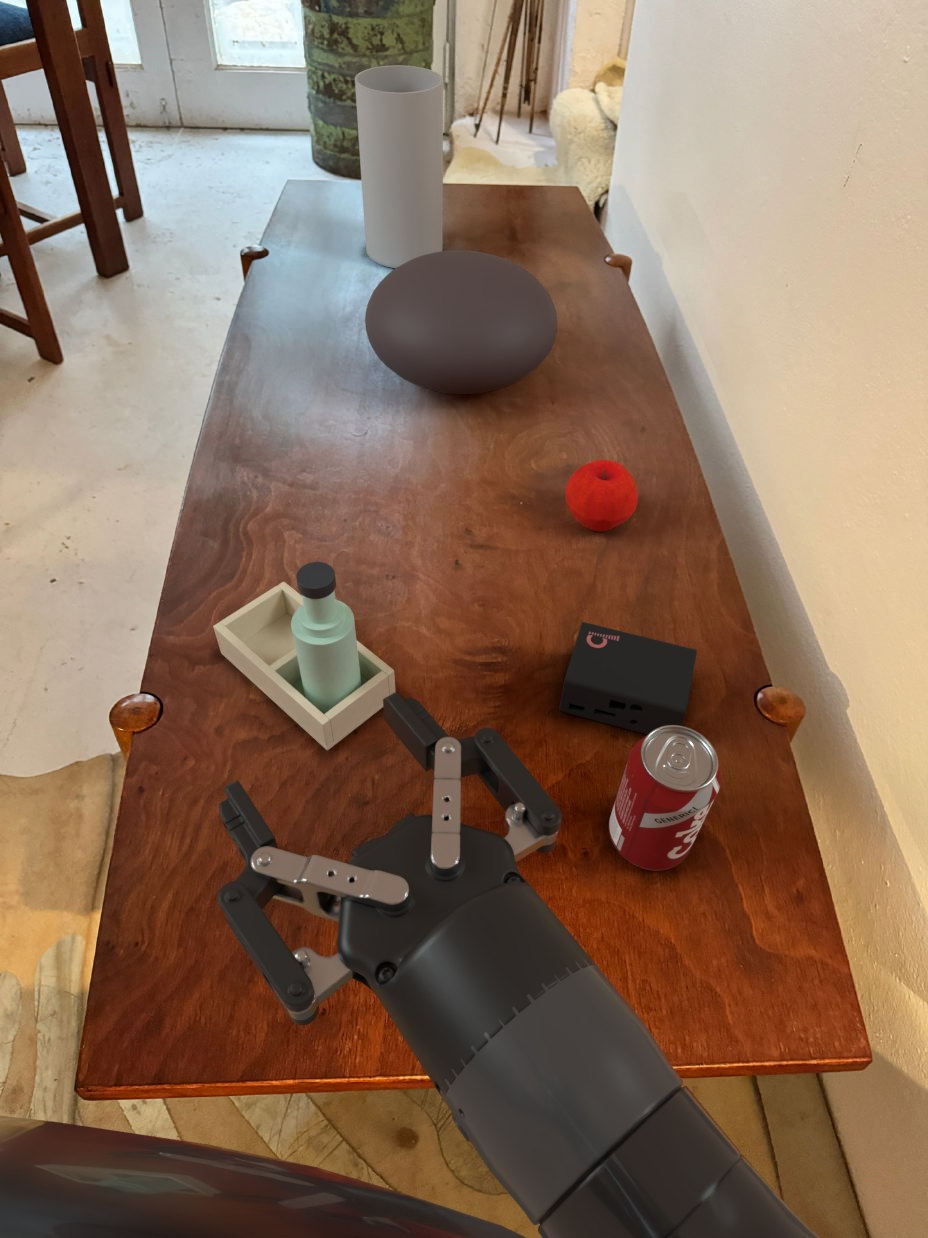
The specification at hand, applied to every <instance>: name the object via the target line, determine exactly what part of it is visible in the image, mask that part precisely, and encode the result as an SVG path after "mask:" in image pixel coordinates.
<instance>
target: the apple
mask: <svg viewBox="0 0 928 1238" xmlns="http://www.w3.org/2000/svg"><path fill="white" fill-rule="evenodd" d="M638 502H639V492H638V487H637V486H636V482H635V480H634V477H633V475H632V474H631V473H630V472H629V469H627V468H626V467H625V466H624V465H623V464H621V463H619V462H617V461H615V460H610V459H596V460H593V461H590V462H587V463H584V464H583V465H581V466H580V467H578V468H577V469H576V470H575V471H574V472H573V473H572V475H570V477H569V479H568V481H567V483H566V486H565V503H566V505H567V507H568V510H569V512H570V513H571V515H572V516H573V518H574V519H575V521H577V522H578V523H579V524H580V525H581V526H583V527H584V528H585V529H587V530H588V529H589V530H590V531H593V532H594V531H595V532H599V533H603V532H608V531H611V530H612V529H614V528H616V527H618V526H619V525H621V524H624V523H625V522H626V521H628V520H629V519H630V518H631V517H632V515H633V514H634V512H635V511H636V510H637V506H638Z"/></svg>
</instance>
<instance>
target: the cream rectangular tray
mask: <svg viewBox="0 0 928 1238" xmlns="http://www.w3.org/2000/svg"><path fill="white" fill-rule="evenodd" d="M302 605H303V598H302V594H301V593H300V592H299V591H298V592H297V591H296V590H295V588H293V587H292V586H290V585H289V584H288V583H287V582H286V581H282V582H280V583H279V584H278V585H275V586H273V587H272V588H271V589H269V590H268V591H265V593H263V594H261V595H260V596H258V597H257V598H255V599H253V600H252V601H250V602H248V603H247V604H246V605H244V606H242V607H241V608H239V609H237V610H236V611H234V612H233V613H231V614H229V615H228V616H226V617H224V618H223V619H222V620H220V621H218V622H217V623H216V624H214V625H213V626H212V627H213V631H214V634H215V637H216V640H217V644H218V647H219V651H220V654H221V655H222V656H223V657H225V659H226V660H228V661H229V662H230V663H231V664H232V665H233V666H234V667H236V669H238V670H239V671H240V673H242V674H243V675H244V676H245V677H246V678H247V679H248V680H249V681H250V682H251V683H252V684H254V685H255V686H256V687H257V688H258V689H259V690H261V691H262V692H263V693H264V694H265V695H266V696H267V697H268V698H269V699H270V700H271V701H273V703H275V705H277V707H279V708H280V709H281V710H282V711H283V712H284V713H286V714H287V715H288V716H289V718H291V719H292V720H293V721H294V722H295V723H296V724H297V725H299V727H300V728H302V729H303V730H304V731H305V732H306V733H307V734H308V735H310V736H311V737H312V739H314V740H315V741H316V742H317V743H318V744H319V745H320V746H321V747H323V749H325V750H326V751H329V750H330V749H331V748H333V747H334V746H335V745H337V744H338V743H339V742H340V741H342V740H343V739H344V738H345V737H347V736H349V735H350V734H351V733H352V732H353V731H354V730H356V729H357V728H359V726H361V725H362V724H364V723H365V722H366V721H368V720H369V719H370V718H371V717H372V716H373V715H375V714H376V713H378V712H379V711H380V710H381V709H382V708H383V699H384V698H386V697H387V696H389V695H391V694H393V693H395V692H396V679H395V678H396V675H395V670H394V669H393V668H392V667H391V666H389V665H388V664H387V663H386V662H385V661H383V660H382V659H381V658H380V657H378V656H377V655H376V654H375V653H373V652H372V651H371V650H370V649H368V648H367V647H366V646H365V645H363V644H362V643H361V642H360V641H358V640H357V649H358V658H359V667H360V676H361V685H362V686H361V687H360V688H358V689H357V690H356V691H354V692H353V693H352V694H350V695H349V696H348V697H346V698H345V699H344V700H342V701H341V702H340V703H338V704H337V705H336V706H334V707H333V708H332V709H330V710H329V711H328V712H326V713H325V714H323V713H322V712H321V711H319V710H318V709H317V708H316V707H315V706H314V705H313V704H312V703H310V702H309V701H308V700H307V699H306V698H305V694H304V689H303V684H302V679H301V673H300V668H299V663H298V658H297V653H296V648H295V643H294V638H293V633H292V628H291V620H292V617H293V615H294V613H295V612H296V610H297V609H298V608H299V607H301V606H302Z"/></svg>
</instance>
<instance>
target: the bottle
mask: <svg viewBox="0 0 928 1238" xmlns="http://www.w3.org/2000/svg"><path fill="white" fill-rule="evenodd" d="M295 575H296V576H295V578H296V584H297V589H298V593H299V594H300V595H301V596H302V598H303V605H302V606H301V607H299V608H298V609H297V610H296V612H295V613H294V615H293V617H292V620H291V628H292V633H293V638H294V643H295V648H296V653H297V658H298V663H299V668H300V673H301V679H302V684H303V689H304V694H305V698H306V699H307V700H308V701H309V702H310V703H312V704H313V705H314V706H315V707H316V708H317V709H318V710H319V711H321V712H322V713H323V714H325V713H326V712H328V711H329V710H330V709H332V708H333V707H334V706H336V705H337V704H338V703H340V702H341V701H342V700H344V699H345V698H346V697H348V696H349V695H350V694H352V693H353V692H354V691H356V690H357V689H358V688H360V687H361V686H362V685H361V676H360V667H359V658H358V649H357V641H358V639H357V632H356V623H355V615H354V612H353V610H352V609H351V608H350V606H348V605H347V604H346V603H344V602H343V601H341V600H338V599H337V598H336V592H335V590H336V587H337V580H336V572H335V570H334V568H333V567H332V566H331V565H330V564H328V563H326V562H322V561H313V562H308V563H306V564H304V565H302V566H301V567H300V568H299V569H298V570H297V573H296V574H295Z"/></svg>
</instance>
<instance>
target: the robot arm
mask: <svg viewBox="0 0 928 1238" xmlns="http://www.w3.org/2000/svg"><path fill="white" fill-rule="evenodd" d="M382 708H383V717H384V720H385V722H386V724H387V726H388V727H389V728H390V729H391V731H392V732H393V733H394V734H395V736H396V737H397V738H398V739H399V741H400V742H401V743H402V744H403V745H404V747H405V748H406V750H408V751H409V753H410V754H411V755H412V756H413V758H414V759H415V760H416V761H417V762H418V764H419V765H420V766H421V767H422V769H423V770H424V771H425V772H426V773H427V772H428V771H431V770H432V771H433V772H434V774H433V792H432V814H419V815H415V814H414V812H410V813H409V814H408V815H405V816H404V817H402V818H401V819H399V820H398V821H397V822H396V823H395V824H394V825H393V826H392V827H391V828H390V829H389V830H388V831H387V833H385V834H383V835H381V836H378V837H375V838H372V839H369V840H366V841H364V842H363V843H361V844H359V846H357V847H356V848H354V849H352V850H351V854H352V856H351V858H349V860H348V862H347V863H346V862H342V861H340V860H337V859H332V858H329V857H325V856H322V855H319V854H310V855H309V856H304V855H300V854H298V853H293V852H291V851H287V850H283V849H280V848H279V847H278V843H277V840H276V836H275V835H274V834H273V832H272V830H271V829H270V828H269V827H270V826H268V825H267V823H266V821H265V820H264V818H263V816H262V815H261V813H260V812H259V810H258V808H257V807H256V806H255V804H254V802H253V801H252V799H251V797H250V796H249V795H248V793H247V791H246V790H245V788H244V787H243V785H242V784H241V782H240V780H238V779H236V780H234V781H233V782H230V783H229V784H227V785H225V786H223V787H222V789H223V792H224V795H225V797H226V799H224V800H223V801H221V802H219V803H218V810H219V811H218V812H219V816H220V819H221V822H222V824H223V827H224V829H225V831H226V833H227V834H228V836H229V838H230V839H231V841H232V843H233V845H234V846H235V848H236V849H237V851H238V852H239V854H240V856H241V857H242V859H243V861H244V862H245V866H244V869H243V871H242V872H241V873H240V875H239V876H238V877H237V878H236V879H235V880H233V881H229V882H227V883H225V884H224V885H223V886H221V887H220V889H219V890H218V893H217V903H218V905H219V908H220V910H221V911H222V912H223V914H224V915H225V917H226V922H227V924H228V927H229V929H230V930H231V931H232V933H233V934H234V937H235V938H236V939H237V941H238V942H239V944H240V945H241V946H242V948H243V950H244V951H245V953H246V954H247V956H248V957H249V959H250V960H251V962H252V963H253V965H254V966H255V968H256V969H257V971H258V973H260V976H261V977H262V979H264V981H265V983H266V984H267V986H268V987H269V989H270V990H271V992H272V993H273V994H274V997H275V998H276V1000H277V1001H278V1002H279V1004H280V1005H281V1006H282V1008H283V1010H284V1012H286V1014H287V1016H288V1017H289V1019H290V1020H291V1022H292V1023H294V1024H295V1025H297V1026H308V1025H310V1024H311V1023H313V1022H314V1021H315V1020H316V1019H317V1017H318V1015H319V1012H320V1005H321V1004H322V1003H324V1002H325V1001H326V1000H328V999H329V998H330V997H331V996H332V995H334V994H335V993H336V992H337V991H339V990H340V989H341V988H342V987H343V986H345V985H346V984H347V983H349V982H350V981H351V980H354V981H356V982H359V983H360V984H362V985H365V986H366V987H367V988H368V989H369V990H370V991H371V992H373V994H374V995H375V996H376V998H377V999H378V1001H379V1003H380V1004H381V1005H382V1007H383V1008H384V1010H385V1012H386V1013H387V1015H388V1016H389V1018H390V1019H391V1021H392V1022H393V1024H394V1025H395V1027H396V1029H397V1030H398V1032H399V1034H400V1035H401V1036H402V1038H403V1039H404V1041H405V1043H406V1044H407V1046H408V1047H409V1049H410V1050H411V1052H412V1054H413V1055H414V1056H415V1058H416V1059H417V1061H418V1063H419V1064H420V1066H421V1068H422V1069H423V1071H424V1072H425V1074H426V1075H427V1077H428V1078H429V1080H430V1082H431V1083H432V1085H433V1086H434V1088H435V1089H436V1090H437V1092H438V1094H439V1095H440V1097H441V1098H442V1100H443V1101H444V1103H445V1105H446V1106H447V1108H448V1109H449V1111H450V1112H451V1118H452V1121H453V1122H454V1124H455V1126H456V1127H457V1129H458V1131H459V1132H460V1133H461V1135H462V1137H463V1138H464V1139H465V1140H466V1141H467V1142H470V1143H471V1145H472V1146H473V1148H474V1149H475V1151H476V1153H477V1155H478V1156H479V1157H480V1159H481V1160H482V1162H483V1163H484V1164H485V1166H486V1167H487V1169H488V1170H489V1171H490V1173H491V1174H492V1175H493V1177H494V1178H495V1179H496V1180H497V1182H498V1183H499V1184H500V1185H501V1186H502V1188H504V1190H505V1191H506V1192H507V1193H508V1194H509V1196H511V1198H512V1199H513V1201H515V1203H516V1204H517V1205H518V1207H520V1209H521V1210H522V1211H523V1213H524V1214H525V1215H526V1217H527V1219H528V1220H529V1221H530V1222H531V1224H532V1225H533V1226H537V1225H538V1227H537V1232H538V1234H539V1235H540V1237H541V1238H822V1236H821V1235H820V1234H819V1233H817V1231H815V1230H814V1229H813V1228H812V1227H811V1225H809V1224H808V1223H807V1222H806V1221H805V1220H804V1219H803V1218H801V1216H800V1215H798V1213H796V1211H795V1210H793V1208H792V1207H791V1206H789V1204H787V1202H786V1201H785V1200H784V1199H783V1198H782V1197H781V1196H780V1195H779V1194H778V1193H777V1192H776V1191H775V1190H774V1189H773V1187H772V1186H771V1185H770V1184H769V1183H768V1181H766V1180H765V1178H764V1177H763V1176H762V1175H761V1173H760V1172H759V1171H758V1169H756V1167H754V1165H753V1163H751V1162H750V1161H749V1160H748V1158H747V1157H746V1156H745V1155H743V1154H742V1152H741V1151H740V1149H739V1148H738V1147H737V1145H736V1144H735V1143H734V1142H733V1140H732V1139H731V1138H730V1137H729V1135H727V1134H726V1132H725V1131H724V1129H722V1127H721V1126H720V1125H719V1124H718V1123H717V1120H715V1119H714V1117H713V1116H712V1115H711V1114H710V1113H709V1111H708V1110H707V1109H706V1108H705V1106H704V1105H703V1104H702V1103H701V1101H700V1100H699V1099H698V1098H697V1097H696V1095H695V1094H694V1093H693V1092H692V1091H691V1089H690V1088H689V1087H688V1085H684V1080H683V1079H682V1077H681V1076H680V1075H679V1074H678V1072H677V1071H676V1069H675V1067H674V1066H673V1065H672V1064H671V1062H670V1060H669V1059H668V1057H667V1056H666V1054H665V1053H664V1051H663V1050H662V1048H661V1047H660V1045H659V1043H658V1042H657V1040H656V1038H655V1037H654V1036H653V1034H652V1032H651V1031H650V1029H649V1028H648V1026H647V1025H646V1024H645V1022H644V1021H643V1020H642V1019H641V1017H640V1016H639V1015H638V1013H637V1012H636V1011H635V1010H634V1009H633V1007H632V1006H631V1005H630V1004H629V1003H628V1001H627V1000H626V999H625V998H624V996H623V995H622V994H621V993H620V991H619V990H618V989H617V988H616V987H615V985H614V984H613V983H612V982H611V980H610V979H609V978H608V977H607V976H606V974H605V973H604V972H603V970H601V968H600V967H599V966H598V965H597V964H596V962H595V961H594V960H593V958H591V956H590V955H589V954H588V953H587V952H586V950H585V949H584V948H583V947H582V946H581V945H580V942H578V940H577V939H576V938H575V937H574V936H573V935H572V933H571V932H570V931H569V930H568V928H567V927H566V926H565V925H564V924H563V923H562V921H561V920H560V919H559V918H558V917H557V915H556V914H555V913H554V912H553V910H552V909H551V908H550V907H549V905H548V904H547V903H546V902H545V901H544V900H543V898H542V897H541V896H540V894H538V892H537V891H536V890H535V889H534V887H533V886H532V885H531V884H530V883H529V882H528V881H527V879H525V878H524V877H523V875H522V874H521V872H520V871H519V868H518V865H517V862H520V861H521V860H523V859H524V858H526V857H527V856H529V855H530V854H532V853H533V852H537V853H540V854H549V853H551V852H552V851H553V850H554V849H555V848H556V846H557V842H558V837H559V832H560V828H561V823H562V820H563V814H562V811H561V809H560V808H559V807H558V806H557V804H556V803H555V802H554V800H553V799H552V798H551V796H549V794H548V793H547V792H546V791H545V789H544V788H543V787H542V786H541V784H540V783H539V781H538V780H537V779H536V778H535V777H534V776H533V774H532V773H531V772H530V770H529V769H528V768H527V767H526V765H524V763H523V762H522V761H521V759H520V758H519V757H518V756H517V754H516V753H515V752H514V751H513V750H512V748H511V747H510V746H509V745H508V743H507V742H506V741H505V740H504V738H503V737H502V736H501V734H500V733H499V732H498V731H497V730H495V729H494V728H492V727H483V728H480V729H478V730H477V731H476V732H475V734H474V735H472V736H469V737H465V738H455V737H452V736H450V735H449V734H448V733H447V732H446V731H445V729H444V728H442V726H441V725H440V724H439V723H438V722H437V720H436V719H435V718H434V716H432V715H431V714H430V712H429V711H428V710H427V709H426V708H425V707H424V705H423V704H422V703H421V701H419V700H417V699H416V698H413V696H407V697H406V698H403V697H402V696H401V695H400V693H398V692H397V691H395V693H393V694H391V695H389V696H387V697H386V698H384V699H383V707H382ZM473 775H477V777H479V779H480V780H481V782H482V784H484V786H485V787H486V788H487V789H488V791H489V792H490V794H491V795H492V796H493V797H494V799H495V800H496V802H498V804H499V806H501V808H502V809H503V811H504V812H505V815H504V823H503V825H504V829H505V831H506V833H507V834H506V836H504V837H503V836H501V834H498V833H496V832H492V831H489V830H485V829H481V828H478V827H475V826H472V825H469V824H465V823H461V808H462V807H461V805H462V803H461V802H462V801H461V800H462V799H461V798H462V796H461V795H462V778H465V777H468V776H473ZM272 899H273V900H276V901H279V902H283V903H285V904H289V905H293V906H295V907H299V908H301V909H304V911H306V912H307V913H309V914H311V915H312V916H316V917H318V918H321V919H325V920H328V921H331V922H335V923H338V924H337V937H336V951H337V952H336V953H334V954H332V955H329V956H323V955H320V954H319V953H317V952H316V951H315V950H314V949H312V948H311V947H307V946H302V947H298V948H296V949H295V950H293V951H291V949H290V948H289V946H288V945H287V943H286V942H285V940H284V939H283V938H282V936H281V935H280V933H279V932H278V931H277V929H276V927H275V926H274V925H273V923H272V921H271V920H270V918H268V916H267V915H266V913H265V912H264V909H265V907H266V906H267V905H268V904H269V903H270V901H271V900H272ZM0 1238H528V1237H527V1236H525V1235H522V1234H520V1233H518V1232H516V1231H514V1230H512V1229H509V1228H507V1227H505V1226H504V1225H501V1224H498V1223H495V1222H492V1221H489V1220H486V1219H483V1218H480V1217H476V1216H474V1215H471V1214H468V1213H465V1212H462V1211H459V1210H456V1209H453V1208H449V1207H446V1206H443V1205H441V1204H438V1203H434V1202H432V1201H429V1200H425V1199H422V1198H419V1197H416V1196H413V1195H411V1194H408V1193H404V1192H400V1191H398V1190H394V1189H390V1188H387V1187H383V1186H380V1185H378V1184H375V1183H370V1182H368V1181H364V1180H361V1179H358V1178H354V1177H351V1176H347V1175H344V1174H340V1173H337V1172H334V1171H331V1170H328V1169H324V1168H321V1167H317V1166H313V1165H308V1164H303V1163H299V1162H294V1161H289V1160H285V1159H280V1158H274V1157H271V1156H265V1155H261V1154H256V1153H251V1152H246V1151H242V1150H237V1149H233V1148H227V1147H222V1146H217V1145H213V1144H209V1143H208V1144H207V1143H201V1142H195V1141H190V1140H189V1141H188V1140H183V1139H182V1140H181V1139H174V1138H168V1137H161V1136H155V1135H147V1134H142V1133H141V1134H140V1133H134V1132H126V1131H120V1130H113V1129H107V1128H100V1127H94V1126H88V1125H80V1124H74V1123H67V1122H59V1121H52V1120H42V1119H34V1118H25V1117H15V1116H8V1115H7V1116H6V1115H0Z"/></svg>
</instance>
